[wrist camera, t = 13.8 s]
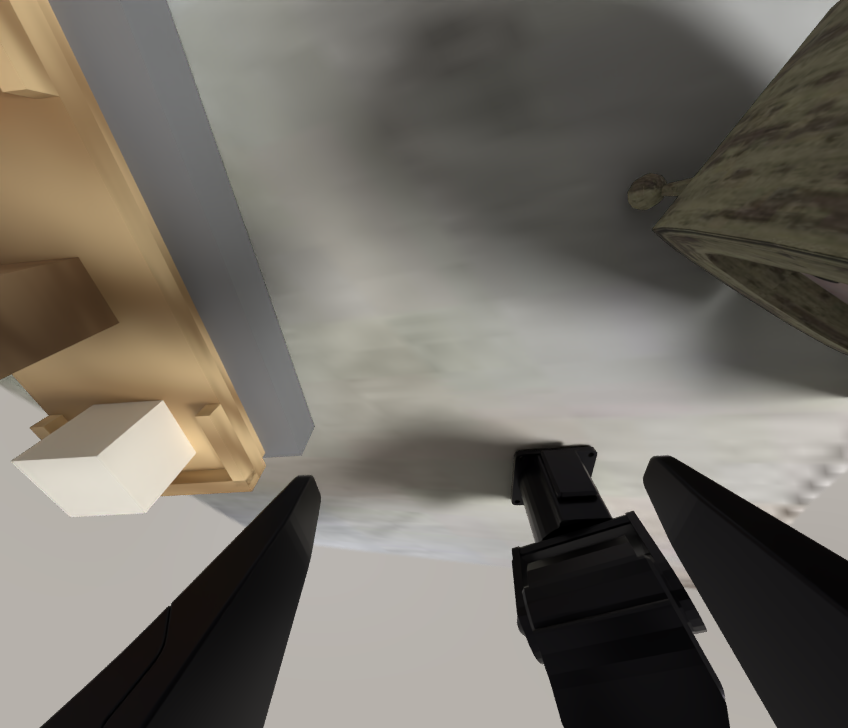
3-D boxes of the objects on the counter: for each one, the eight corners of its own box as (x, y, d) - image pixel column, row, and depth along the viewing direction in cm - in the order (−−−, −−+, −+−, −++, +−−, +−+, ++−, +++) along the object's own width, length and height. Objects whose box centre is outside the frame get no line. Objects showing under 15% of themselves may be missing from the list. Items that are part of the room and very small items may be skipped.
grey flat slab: (314, 426, 25) (301, 455, 22) (145, 437, 26) (113, 466, 23) (128, -107, 12) (44, -187, 9) (-210, -54, 12) (-378, -115, 10)
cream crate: (196, 452, 19) (145, 513, 16) (133, 456, 19) (70, 517, 16) (162, 400, 17) (96, 456, 14) (93, 404, 17) (10, 461, 14)
